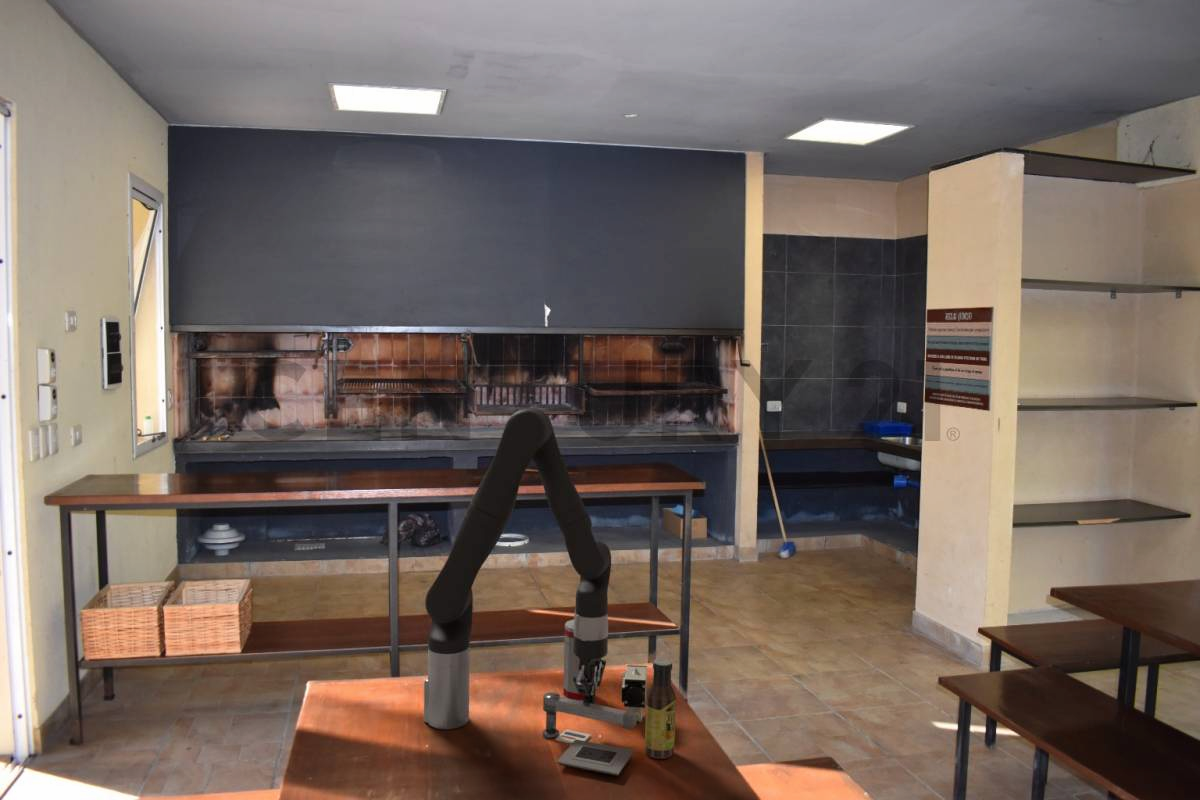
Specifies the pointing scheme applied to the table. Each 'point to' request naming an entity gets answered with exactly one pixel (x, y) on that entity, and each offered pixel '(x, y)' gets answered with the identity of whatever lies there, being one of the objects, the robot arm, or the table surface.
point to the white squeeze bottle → (570, 664)
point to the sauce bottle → (660, 712)
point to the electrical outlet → (595, 757)
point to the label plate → (572, 736)
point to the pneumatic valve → (634, 689)
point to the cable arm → (589, 710)
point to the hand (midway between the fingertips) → (589, 709)
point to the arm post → (550, 726)
